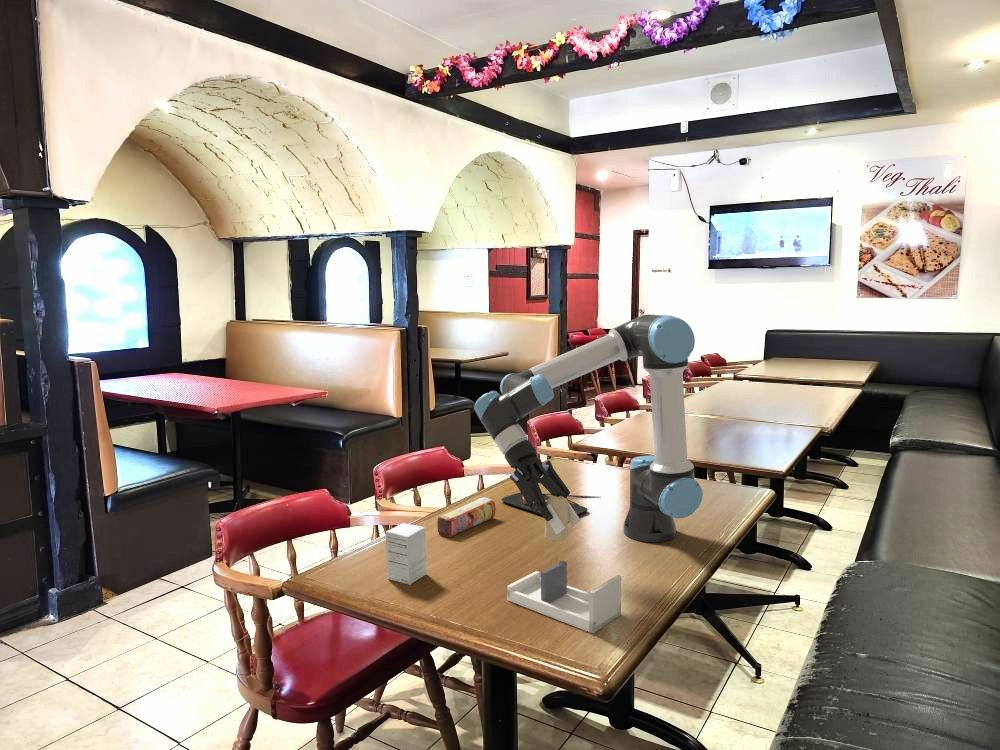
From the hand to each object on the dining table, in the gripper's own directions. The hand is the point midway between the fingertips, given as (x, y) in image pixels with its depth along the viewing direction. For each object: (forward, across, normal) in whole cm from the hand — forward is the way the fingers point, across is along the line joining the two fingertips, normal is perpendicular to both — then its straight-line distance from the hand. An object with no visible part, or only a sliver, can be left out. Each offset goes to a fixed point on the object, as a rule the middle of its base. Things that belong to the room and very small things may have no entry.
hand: (568, 527), depth 159 cm
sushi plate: (-19, -55, -43) cm, 72 cm away
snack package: (-24, -18, -49) cm, 57 cm away
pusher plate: (+11, +5, -11) cm, 17 cm away
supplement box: (-14, +18, -39) cm, 45 cm away
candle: (0, 0, -5) cm, 5 cm away
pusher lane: (+14, +5, -10) cm, 18 cm away
